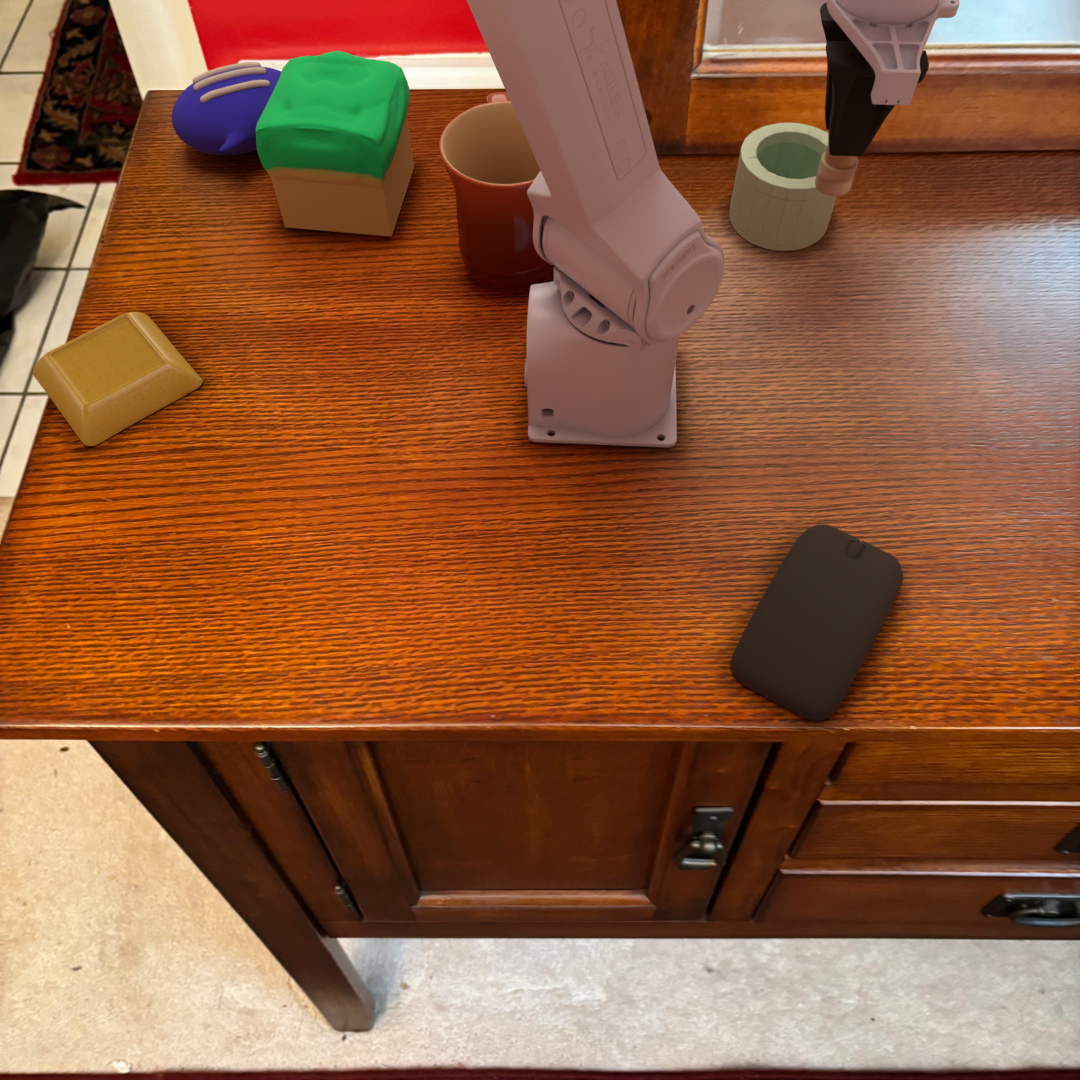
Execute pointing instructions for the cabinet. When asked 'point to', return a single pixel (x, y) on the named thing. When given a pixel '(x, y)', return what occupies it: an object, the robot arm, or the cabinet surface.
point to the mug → (494, 195)
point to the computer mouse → (817, 621)
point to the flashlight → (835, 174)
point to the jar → (781, 188)
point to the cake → (338, 143)
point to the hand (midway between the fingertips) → (843, 140)
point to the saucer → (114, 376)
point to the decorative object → (224, 108)
